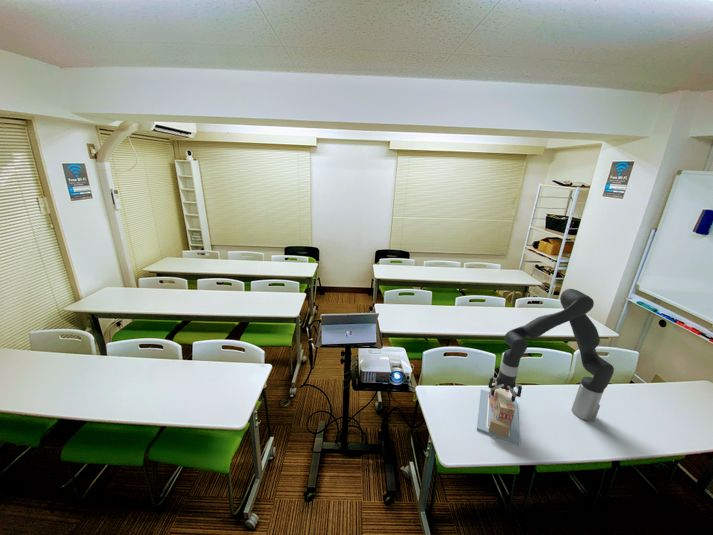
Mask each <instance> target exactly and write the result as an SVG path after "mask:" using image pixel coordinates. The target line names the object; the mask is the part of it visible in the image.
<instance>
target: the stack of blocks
mask: <svg viewBox="0 0 713 535" xmlns="http://www.w3.org/2000/svg"><path fill="white" fill-rule="evenodd" d="M494 384H496V382H493V383H492V385H494ZM491 390H492V389H491V388H489V392H490V393H489V400H490V404H491V408H492V412H493V416H494V420H497V421H500V422H503V423H505V424H508V425H510V427H511V423H512V420H513V417H514V413H515V408H514V404H513V402H512V399H511V397H512V395H510V391H509V392H506V390H505V389H501V388H499V389H496V390H495V393H494V397H493V396H492V395H491Z"/></svg>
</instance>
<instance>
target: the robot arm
mask: <svg viewBox="0 0 713 535" xmlns="http://www.w3.org/2000/svg"><path fill="white" fill-rule="evenodd" d="M559 299H560V304H561V307H562V308H563V309H562V310H560V311H557V312H554V313H550V314H544V315H541V316H538V317H535V319H532V320H531V321H529V322H527V323H526V324H525V325H522V326H519V327H516V328H512V329H510V330H509V331H507V332H506V333H505V335H504V338H503V339H504V342H505V343H506V344H507V345H508V346H509V348H510V349H506V350H505V351H504V353H503V357H502V361H501V364H500V368H499V372H498V376H497V377H494V375H490V379H489V381H488V386H487V387H488V389H490V388H491V389H492V390H491V395H492V396H493V397H494V393H495V390H496V389H499V388H501V389H505V390H509V393H511V399H512V402H514V401H515V400H516V398H521V395H522V390H523V385H522V383H516V381H517V377H518V373H519V365H520V361H521V359H522V357H523V355H525V353H526V351H527V349H528V342H527V340H526V339H525V338H530V339H532V340H536V339H537V338H539V337H541V336H542V335H544V334H545V333H547V332H549V331H550V330H552V329H554V328H556V327H558V326H560V325H563V324H565V323H567V322H569V324H570V325H569V326H570V327H571V329H572V333H573V336H574V339H575V341H576V344H577V348H578V350H579V354H580V358H581V360H580V361H581V364H582V367H583V368H584V369H585V370H586V372H588V373H589V374H591V375H592V376H593V377H591V376H584V377H582V378H581V381H580V383H579V386H578V389H577V392H576V394H575V396H574V397H575V398H574V401H573V404H572V407H571V412H572V413H573V414H574V416H576V417H577V418H579V419H582V420H584V421H588V422H592V421H593V422H595V421H596V418H597V416H598V414H599V410H600V407H601V404H600V403H601V402H600V401H601V399H602V397H603V393H604V391H605V390H606V388H607V387H608V386H609V384H610V381H611V379H612V378H613V375H614V371H615V367H614V366H613V365H612V364H611V363H609V362H608V361H607V360H605V359H603V358H602V357H600V355H599V354H598V352H597V351H596V350H597V347H598V346H599V345H600V343H601V338H600V334H599V332H598V328H597V327H596V325H595V324H594V322H593V321H592V320H591V319H590V318H589V316H588V315H587V313H589V312H591V310H592V309H593V307H594V304H595V303H594V299H593V298H592V297H590V296H589V295H587V294H585V293H584V292H582V291H579V290H577V289H574V288H568V289H565V290H563V291H562V293H561V294H560V298H559ZM495 381H496V382H495ZM492 383H495V384H494V385H492ZM515 387H516V389H517V391H515Z"/></svg>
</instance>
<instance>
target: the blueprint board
mask: <svg viewBox="0 0 713 535" xmlns="http://www.w3.org/2000/svg"><path fill="white" fill-rule="evenodd" d="M506 392H509V393H510V390H506ZM489 393H490V391H488V390H484V389H480V396H479V397H480V398H479V403H478V404H479V405H478V413H477V414H478V415H477V423H476V430H477V431H479V432H480V433H484V434H487V435H490V436H492V437H494V438H497V439H500V440H503V441H505V442H508V443H511V444H513V445H516V446H519V447H520V444H521V443H520V430H519V427H520V426H519V415H518V414H519V413H518V411H519V410H518V401H517V399H515V401H514V402H513V404H514V408H515V413H514V417H513V420H512V423H511V427H510V425H508V424H505V423H503V422H500V421H497V420H494V416H493V412H492V408H491V404H490V400H489Z"/></svg>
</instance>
